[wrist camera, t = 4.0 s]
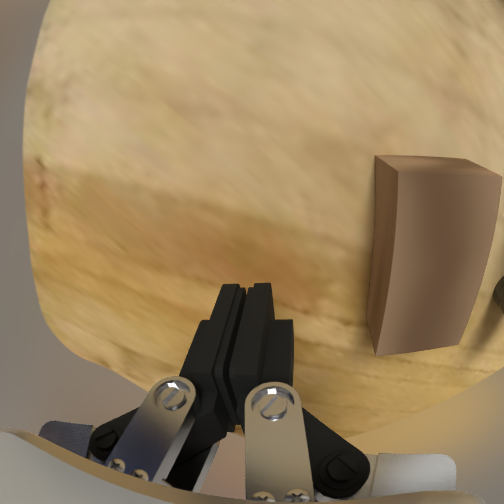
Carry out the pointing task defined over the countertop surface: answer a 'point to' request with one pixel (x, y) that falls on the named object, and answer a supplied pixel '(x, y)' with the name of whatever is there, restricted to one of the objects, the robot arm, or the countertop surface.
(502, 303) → the bench dogs
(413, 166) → the block
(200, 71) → the countertop surface
